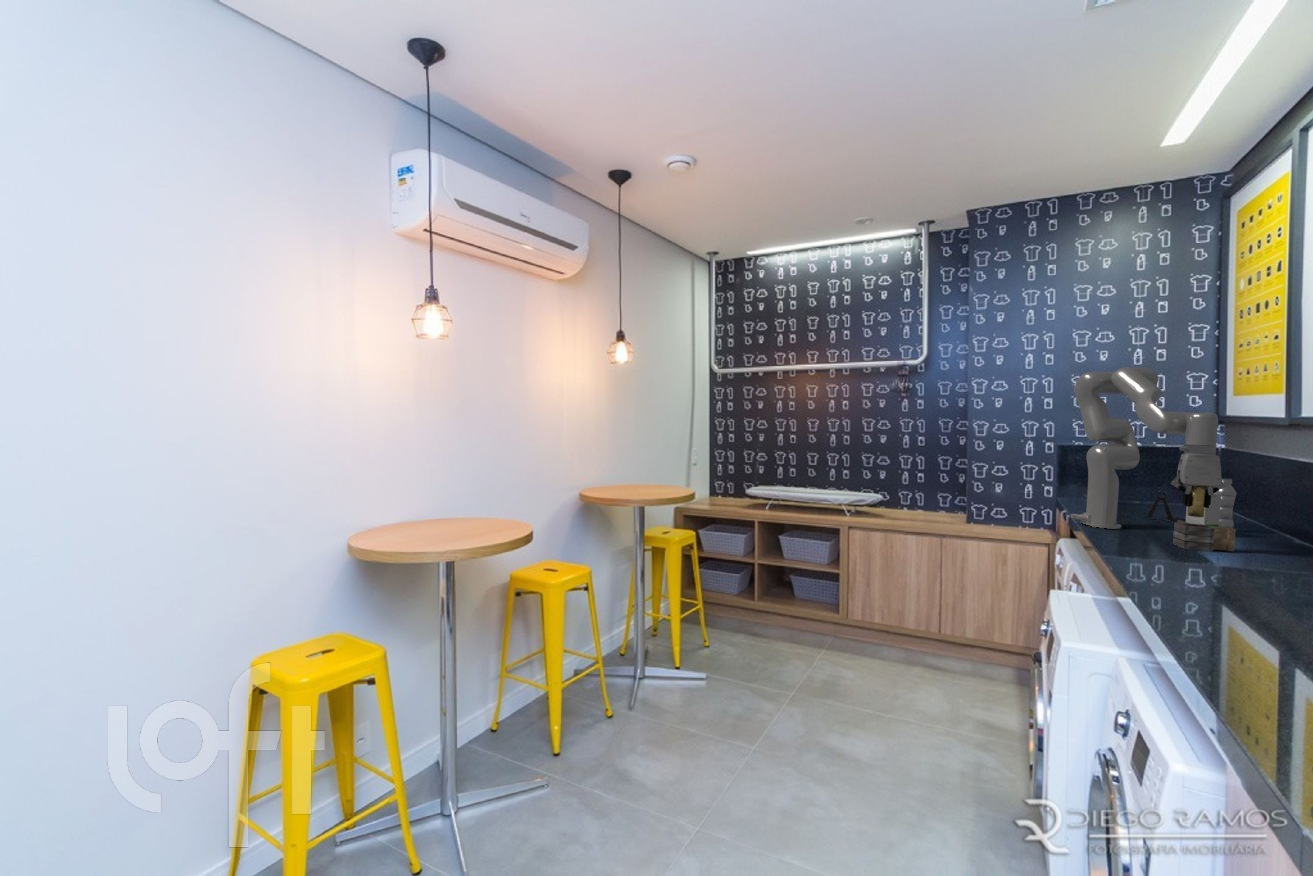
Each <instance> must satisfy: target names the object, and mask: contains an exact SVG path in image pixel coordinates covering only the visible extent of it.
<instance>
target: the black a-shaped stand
mask: <svg viewBox="0 0 1313 876" xmlns="http://www.w3.org/2000/svg"><path fill="white" fill-rule="evenodd" d="M1161 492H1162V494H1164V496H1160V495H1159V494H1160V493H1161ZM1167 494H1168V493H1167V492H1166V491H1165V490H1163V491H1162V490H1158V491H1157V493H1156V498H1155V500H1154V503H1153V504H1152V505H1151V507H1150V509H1149V511H1148V513H1147V515H1146V517H1149V518H1152V517H1154V516H1153V515H1154V513H1155V510H1156V508H1157V506H1158V504H1159V502H1160V501H1163V505H1164V509H1165V514H1166V517H1167V518H1165V517H1160V518H1161V519H1162V518H1163V519H1167V520H1171V521H1174V522H1175V517H1174V515H1173V512H1172V510H1171V508H1170V504H1169V502H1168V500H1167ZM1146 517H1145V518H1146Z"/></svg>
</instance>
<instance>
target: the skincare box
mask: <svg viewBox="0 0 1313 876" xmlns="http://www.w3.org/2000/svg"><path fill="white" fill-rule="evenodd" d="M1220 507H1221V494H1219V493H1214V494H1213V495H1212V496H1211V504H1210V505H1209V508H1204V517H1193V516H1188V515H1187V513H1188V507H1187V506H1186V509H1185V510H1186V513H1185V522H1188V523H1190V524H1203V525H1206V526H1213V527H1219V522H1220Z"/></svg>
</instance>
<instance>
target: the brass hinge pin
mask: <svg viewBox="0 0 1313 876" xmlns="http://www.w3.org/2000/svg"><path fill="white" fill-rule="evenodd" d="M1205 493H1206V486H1194V485H1192V488H1191V491H1190V495H1192V499H1191V506H1190V507H1188V513H1187V515H1188V516H1193V517H1204V508H1205Z"/></svg>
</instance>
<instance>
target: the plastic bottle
mask: <svg viewBox="0 0 1313 876" xmlns="http://www.w3.org/2000/svg"><path fill="white" fill-rule="evenodd" d="M1221 480H1222V482H1223V483H1224V484H1225V486H1226V487H1225V488H1223V489H1220V490H1218V491H1217V492H1215V493H1219V494H1221V507H1220V522H1219V527H1230V528H1233V529H1234V526H1235V525H1234V524H1235V523H1234V514H1233V512H1234V511H1233V510H1234V505H1235V501H1236V496H1237V490H1235V488H1234V487H1233V486H1232V485H1233V479H1232V478H1226V477H1225V478H1222V477H1221Z"/></svg>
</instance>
